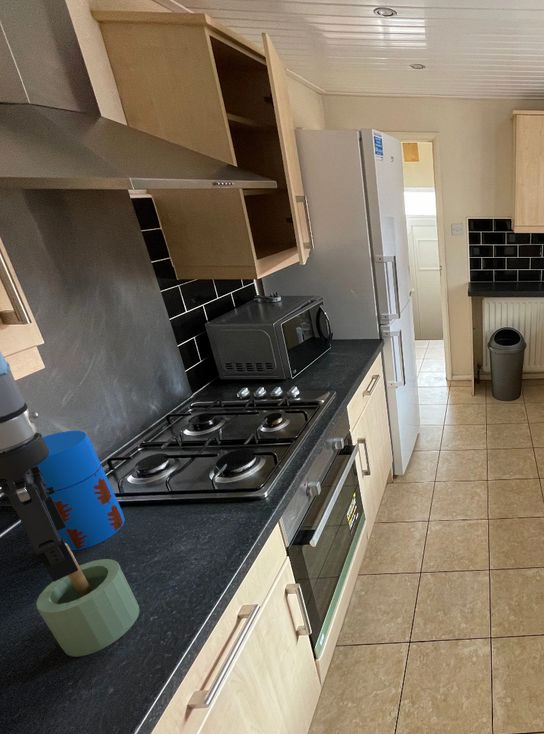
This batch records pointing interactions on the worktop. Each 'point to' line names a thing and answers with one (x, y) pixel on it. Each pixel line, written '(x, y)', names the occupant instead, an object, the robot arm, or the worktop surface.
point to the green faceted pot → (89, 609)
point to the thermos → (80, 490)
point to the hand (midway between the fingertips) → (60, 551)
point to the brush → (79, 579)
